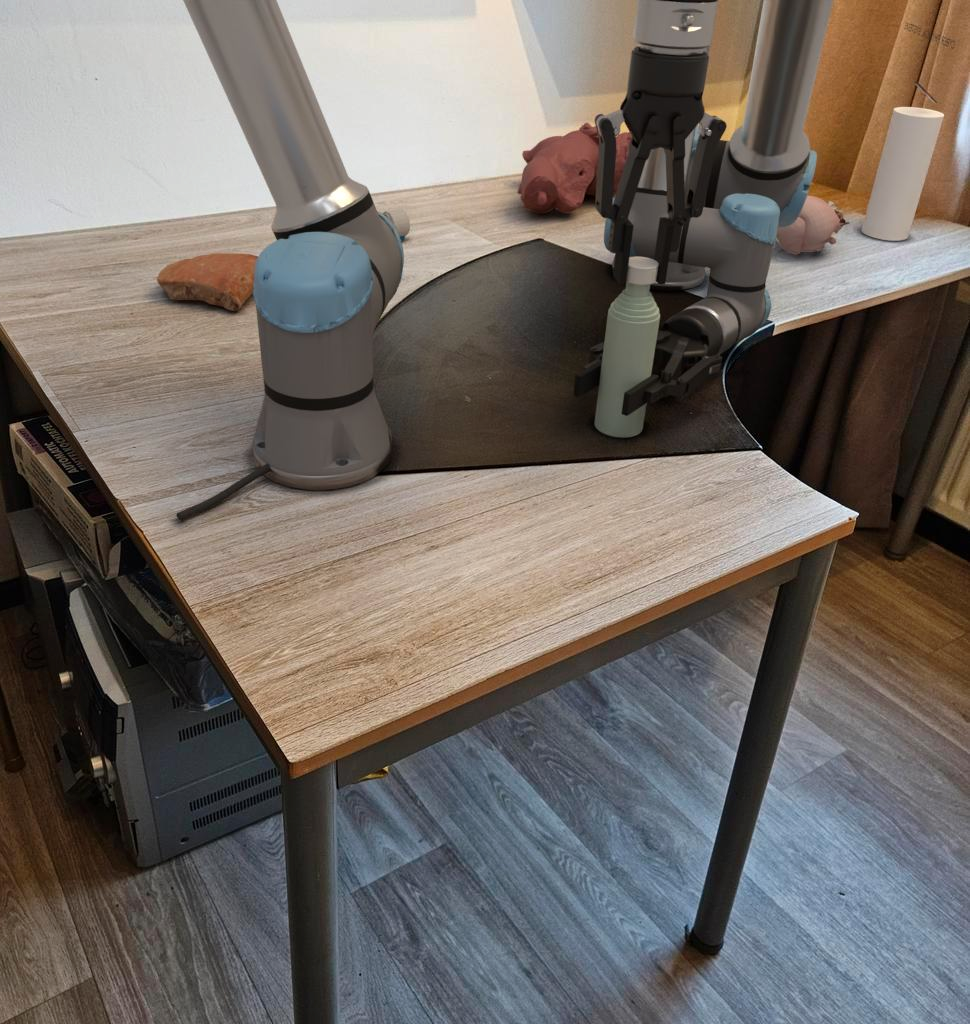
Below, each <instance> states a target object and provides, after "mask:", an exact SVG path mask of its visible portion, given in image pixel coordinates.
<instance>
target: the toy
mask: <svg viewBox="0 0 970 1024" xmlns="http://www.w3.org/2000/svg"><path fill="white" fill-rule="evenodd" d="M849 224H850V222H849V221H848V222H846V219H845V216H844V213H843V210H838V205H837V204H835V203H834V202H833V201H831V200H829V201H827V202H826V201H825V200H823V199H822V198H821V197H817V196H815V195H809V194H808V195H807V198H806V200H805V203H804V206H803V208H802V210H801V212H800V214H799V216H798V218H797V220H796V221H795V222H794V223H793V224H792V225H790V226H787V227H778V228H777V234H776V240H777V241H778V244H779V245H780V247H781V249H782V250H783V251H784V252H786V253H788V254H794V255H799V254H801V253H803V252H804V253H813V254H816V251H818V253H821V252H822V251H824V249H825V245H826V244H830V245H835V244H836V243H837V239H836V238H835V237H833V236H834V235H837V234H838V233H839V231H840V230H842V229H843V228H844V226H846V225H849Z"/></svg>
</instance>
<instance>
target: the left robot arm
mask: <svg viewBox="0 0 970 1024" xmlns="http://www.w3.org/2000/svg"><path fill="white" fill-rule="evenodd" d="M182 1H183V4H184V5H185V8H186V10H187V12H188V15H189V16H190V18H191V20H192V21H191V22H192V23H193V25H194V28H195V30H196V32H197V35H198V36H199V38H200V41H201V44H202V45H203V48H204V49H205V51H206V54H207V56H208V58H209V60H210V63H211V65H212V67H213V69H214V71H215V73H216V76H217V78H218V80H219V82H220V84H221V87H222V90H223V91H224V94H225V95H226V98H227V101H228V102H229V104H230V107H231V108H232V111H233V114H234V115H235V118H236V120H237V122H238V125H239V126H240V128H241V131H242V134H243V135H244V138H245V140H246V143H247V145H248V147H249V148H250V151H251V153H252V156H253V157H254V160H255V162H256V164H257V166H258V169H259V170H260V173H261V175H262V177H263V179H264V181H265V184H266V186H267V188H268V191H269V192H270V195H271V197H272V199H273V201H274V203H275V209H276V210H275V214H274V217H273V220H272V222H271V225H270V228H271V231H272V233H273V235H274V238H275V241H273V242H272V243H270V244H268V245H267V246H266V247H265V248H264V249H263V250H262V251H260V253H259V255H258V258H257V260H256V263H255V269H254V284H253V287H254V291H253V293H252V295H253V300H254V303H255V310H256V311H255V312H256V320H257V330H258V340H259V349H260V359H261V369H262V379H263V388H264V390H263V391H264V396H263V400H262V404H261V408H260V412H259V415H258V419H257V423H256V427H255V430H254V434H253V439H252V455H253V460H254V464H255V467H256V469H255V470H254V471H251V472H250V473H248V474H247V475H245V476H244V477H242V478H240V479H239V480H237V481H236V482H234V483H232V484H231V485H230V486H228V487H226V488H225V489H224V490H222V491H220V492H219V493H217V494H215V495H213V496H211V497H210V498H207V499H206V500H203V501H202V502H200V503H197V504H195V505H193V506H190V507H187V508H186V509H182V510H181V511H178V512H177V513H176V515H175V516H176V518H177V520H178V521H184V520H185V519H187V518H190V517H192V516H194V515H197V514H199V513H201V512H204V511H205V510H208V509H210V508H212V507H214V506H216V505H218V504H220V503H221V502H223V501H225V500H227V499H228V498H230V497H231V496H233V495H234V494H236V493H237V492H238V491H240V490H243V488H245V487H246V486H248V485H250V484H251V483H253V482H255V481H256V480H258V479H260V478H261V477H263V476H265V477H266V478H268V479H269V480H271V481H273V482H275V483H278V484H280V485H283V486H286V487H290V488H295V489H301V490H312V491H314V490H315V491H323V490H327V491H328V490H337V489H342V488H348V487H351V486H355V485H358V484H361V483H363V482H366V481H368V480H370V479H373V478H374V477H375V476H377V475H378V474H380V473H381V472H382V471H383V470H384V469H385V468H386V467H387V466H388V464H389V463H390V461H391V458H392V441H393V439H392V432H391V431H390V426H389V427H388V424H387V422H386V419H385V417H384V413H383V411H382V408H381V406H380V403H379V400H378V398H377V395H376V393H375V385H374V331H375V329H376V327H377V325H378V323H379V321H380V319H381V318H382V316H383V314H384V312H385V311H386V309H387V307H388V306H389V303H390V302H391V301H392V300H393V298H394V297H395V295H396V293H397V292H398V289H399V287H400V284H401V282H402V276H403V273H404V272H403V271H404V264H405V254H404V246H403V243H402V240H401V239H400V237H399V234H398V232H397V230H396V229H395V227H394V226H393V224H392V223H391V222H390V221H389V220H388V219H387V217H385V216H384V215H383V214H382V212H379V211H378V209H377V207H376V205H375V202H374V200H373V197H372V194H371V193H370V190H369V188H368V186H367V185H364V184H362V183H360V182H358V181H355V180H354V179H352V178H351V177H350V176H349V175H348V172H347V169H346V167H345V165H344V162H343V160H342V157H341V155H340V153H339V150H338V147H337V145H336V142H335V140H334V137H333V135H332V133H331V130H330V128H329V125H328V124H327V120H326V117H325V116H324V113H323V110H322V108H321V105H320V103H319V101H318V98H317V96H316V94H315V91H314V89H313V86H312V84H311V82H310V81H311V80H310V78H309V77H308V74H307V72H306V69H305V67H304V64H303V62H302V59H301V57H300V55H299V52H298V50H297V47H296V44H295V42H294V39H293V37H292V34H291V32H290V30H289V28H288V25H287V22H286V20H285V18H284V15H283V12H282V10H281V8H280V5H279V3H278V0H182ZM717 4H718V5H719V0H637V5H636V12H635V20H634V28H633V35H632V39H633V40H634V42H636V43H637V44H638V45H637V46H635V47H634V48H633V49H632V50H631V53H630V61H629V62H630V63H629V71H628V80H627V89H626V95H625V97H624V99H623V101H622V102H621V104H620V108H619V109H618V110H616V111H613V112H611V113H608V114H603V113H599V114H597V115H595V117H594V125H595V126H596V129H597V132H598V136H599V151H598V167H597V184H596V196H595V201H594V202H595V203H594V208H595V210H596V211H597V212H598V214H599V215H600V217H602V218H603V219H606V218H608V219H611V226H610V235H609V243H608V244H609V248H610V249H611V251H612V252H616V254H614V256H615V262H614V271H613V272H612V277H613V278H614V279H615V281H616V282H617V284H618V285H620V286H621V285H623V286H624V285H626V280H627V272H628V264H629V257H630V249H631V242H632V234H633V226H634V225H633V224H632V223H631V222H630V221H629V219H628V216H629V213H630V210H631V207H632V203H633V200H634V197H635V194H636V191H637V187H638V184H639V181H640V178H641V175H642V172H643V168H644V165H645V162H646V160H647V159H648V158H649V155H650V152H651V149H656V148H660V147H661V148H664V152H665V156H666V185H667V213H668V215H669V216H668V218H667V217H660V221H659V227H658V234H657V241H656V248H655V255H654V260H655V261H657V262H658V263H659V266H658V273H657V279H656V281H657V283H658V284H665V282H666V276H667V269H668V263H669V256H670V252H677V250H678V248H679V243H680V237H681V231H682V226H684V225H685V224H686V223H687V220H688V219H690V218H692V217H694V218H698V217H700V216H701V214H702V212H703V207H704V202H705V198H706V193H707V189H708V184H709V179H710V175H711V170H712V166H713V161H714V156H715V152H716V147H717V144H718V142H719V141H720V140H722V137H723V136H724V133H725V132H726V130H727V122H725V120H723V119H721V118H720V117H718V116H717V115H711V114H709V113H707V112H706V110H705V105H704V102H703V95H704V91H705V86H706V79H707V73H708V67H709V61H710V55H709V56H707V53H706V52H705V51H704V48H706V47H708V46H709V45H710V46H711V45H712V42H713V41H712V40H713V35H714V28H715V23H716V17H715V16H717V11H718V6H717ZM716 10H717V11H716ZM623 123H624V124H625V126H626V128H627V130H628V133H629V132H630V133H631V135H632V137H631V141H630V144H629V153H628V156H627V159H626V163H625V166H624V169H623V173H622V176H621V179H620V182H619V186H618V189H617V192H616V194H615V196H614V195H613V190H614V176H615V161H616V137H617V136H618V135H619V134H621V126H622V124H623ZM697 125H699V129H698V132H699V134H700V136H699V138H698V142H697V146H696V151H695V156H694V161H693V166H692V171H691V176H690V180H689V185H688V190H687V195H686V200H685V184H684V158H685V139H686V138H687V137H688V136H689V135H690V133H691V132H692V131H693V130H694V128H695V127H696V126H697ZM614 197H615V199H614V202H613V198H614ZM612 204H613V205H612Z"/></svg>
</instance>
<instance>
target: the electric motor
mask: <svg viewBox="0 0 970 1024" xmlns="http://www.w3.org/2000/svg"><path fill="white" fill-rule="evenodd" d="M381 213H382V212H381ZM382 214H383V215H384V216H385V217H387V219H388V220H389V221H390V222H391V223H392V224H393V226H394V227H395V229H396V230H397V232H398V234H399V237H400V239H401V241H404V240H405V238H406V236H407V235H409V233H410V229H411V222H410V218H409V216H408V213H407V212H406V210H404V209H403V208H397V209H392V210H387V211H384V212H383V213H382Z"/></svg>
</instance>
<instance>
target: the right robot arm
mask: <svg viewBox="0 0 970 1024" xmlns="http://www.w3.org/2000/svg"><path fill="white" fill-rule="evenodd" d="M718 5H719V3H718V4H717V7H718ZM833 5H834V0H763V1H762V6H761V14H760V20H759V25H758V32H757V38H756V43H755V49H754V57H753V61H752V62H753V63H752V66H751V67H752V68H751V74H750V80H749V86H748V91H747V97H746V99H747V100H746V104H745V110H744V115H743V122H742V124H741V125H740V126H739V127H737V128H736V129H735V130H734V131H733V133H732V134H731V137H730V139H729V140H725V139H720V141H719V142H718V144H717V147H716V152H715V156H714V161H713V166H712V170H711V175H710V179H709V184H708V189H707V193H706V198H705V202H704V207H703V212H702V214H701V216H700V217H698V218H694V217H692V218H690V219H688V220H687V223H686V224H685V225H684V226H682V231H681V237H680V243H679V248H678V250H677V252H670V256H669V263H668V269H667V276H666V282H665V284H658V283H657V281H656V282H654V283H652V284H650V290H655V291H683V290H688V289H692V288H693V289H694V288H695V287H697V286H700V285H701V284H703V282H704V280H705V274H706V269H709V274H708V282H707V289H706V293H705V294H706V295H705V297H703V298H702V299H700V300H699V301H697V302H695V303H692V304H691V305H689V306H688V307H686V308H684V309H683V310H681V311H679V312H678V313H676V314H674V315H672V316H671V317H669V318H668V319H667V320H666V321H664V322H663V324H662V325H661V327H659V328H658V334H657V340H656V347H655V353H654V359H653V366H655V365H659V366H663V367H664V369H661V374H660V375H657V374H655V373H653V374H651V376H650V377H648V378H647V379H645V380H644V381H642V382H640V383H639V384H637V385H636V386H634V387H633V388H631V389H629V390H628V391H626V392H625V393H624V399H623V406H622V413H621V414H623V415H625V416H628V415H630V414H631V413H633V412H634V411H636V410H637V409H638V408H640V407H641V406H643V405H644V404H646V403H647V404H650V405H652V404H654V403H656V402H657V401H660V400H661V399H662V398H663V399H666V398H668V397H669V396H673V399H674V400H676V401H678V402H681V401H685V400H686V399H687V398H689V396H691V395H692V394H693V393H694V392H695V391H697V390H698V389H699V388H700V387H701V386H703V385H704V384H705V383H706V382H707V381H709V380H711V379H715V378H718V377H719V376H720V372H721V367H722V361H723V356H722V354H723V353H724V352H726V351H727V350H729V349H730V348H732V347H733V346H735V345H737V344H738V343H740V342H741V341H743V340H744V339H747V338H748V337H750V336H752V335H754V334H755V333H756V332H757V331H758V330H759V329H760V328H761V327H762V326H763V325H765V323H766V322H767V321H768V319H769V317H770V314H771V311H772V300H771V297H770V293H769V291H768V289H767V285H766V283H767V280H768V276H769V275H768V274H769V271H770V266H771V261H772V257H773V256H772V255H773V252H774V249H775V244H776V242H777V241H776V240H777V238H776V234H777V228H778V227H787V226H790V225H792V224H793V223H794V222H795V221H796V220H797V218H798V216H799V214H800V212H801V210H802V208H803V206H804V203H805V200H806V198H807V195H808V196H809V190H810V187H811V185H812V182H813V179H814V177H815V176H814V175H815V172H816V167H817V163H818V154H817V152H816V151H815V150H813V149H811V143H810V139H809V137H808V135H807V134H806V132H805V131H804V129H805V125H806V120H807V116H808V111H809V107H810V102H811V98H812V94H813V90H814V86H815V81H816V78H817V73H818V69H819V64H820V60H821V56H822V53H823V52H822V51H823V47H824V43H825V39H826V34H827V30H828V25H829V22H830V21H829V20H830V17H831V13H832V8H833ZM717 11H718V9H717V10H716V12H717ZM716 16H717V15H716ZM716 16H715V18H716ZM704 51H705V52H706V53H707V56H709V57H710V52H711V45H709V46H708V47H706V48H704ZM698 129H699V124H698V125H697V126H696V127H695V128H694V130H693V131H692V132H691V133H690V135H689V136H688V137H687V138H686V139H685V158H684V184H685V200H686V195H687V190H688V185H689V180H690V176H691V171H692V166H693V161H694V156H695V151H696V146H697V142H698V138H699V136H700V134H699V132H698ZM614 199H615V196H613V202H614ZM612 205H613V204H612ZM668 216H669V215H668V213H667V185H666V156H665V152H664V148H661V147H660V148H656V149H651V152H650V155H649V158H648V159H647V160H646V162H645V165H644V168H643V172H642V175H641V178H640V181H639V184H638V187H637V191H636V194H635V197H634V200H633V203H632V207H631V210H630V213H629V216H628V219H629V221H630V222H631V223H632V224H633V225H634V226H633V234H632V242H631V249H630V257H647V258H651V259H653V260H654V255H655V248H656V241H657V234H658V227H659V221H660V217H667V218H668ZM610 226H611V219H608V218H605V222H604V229H603V241H604V242H603V244H604V248H605V249H606V250H607V251H608V252H609V253H610V254H614V257H613V260H612V265H611V271H612V273H613V271H614V262H615V254H616V252H612V251H611V249H610V248H609V244H608V243H609V235H610ZM603 350H604V341H602V342H600V343H598V344H596V345H594V346H592V347H590V350H589V359H588V364H586V365H584V368H583V370H581V371H579V372H577V373H575V377H574V385H573V395H572V396H574V397H576V398H578V399H579V398H580V397H582V396H584V395H585V394H587V393H589V392H590V391H592V390H593V389H595V388H597V387H599V382H600V374H601V366H602V358H603ZM683 372H684V373H683ZM682 373H683V374H682ZM647 404H646V405H647Z"/></svg>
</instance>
